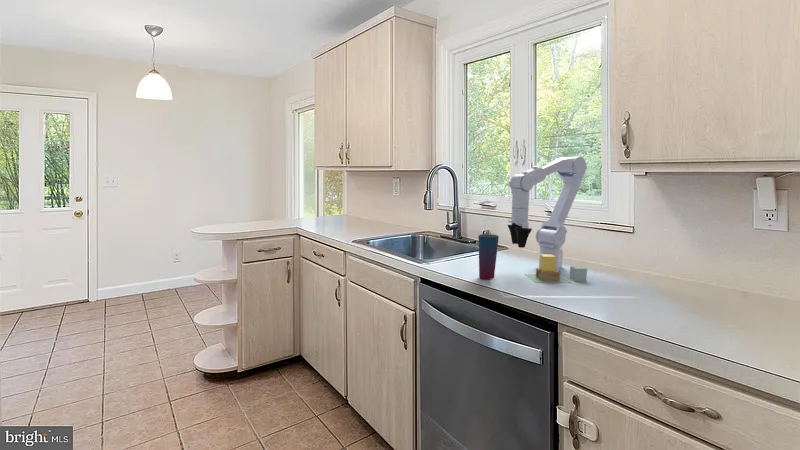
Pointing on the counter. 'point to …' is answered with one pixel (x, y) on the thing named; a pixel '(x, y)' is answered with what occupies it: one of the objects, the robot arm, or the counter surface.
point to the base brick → (548, 275)
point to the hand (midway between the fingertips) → (518, 245)
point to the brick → (578, 273)
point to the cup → (487, 255)
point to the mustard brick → (547, 262)
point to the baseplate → (537, 280)
